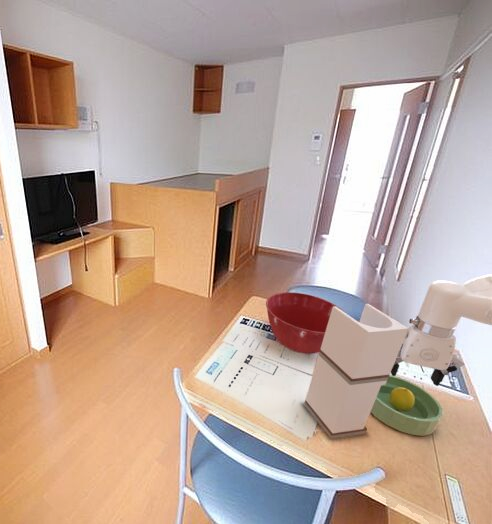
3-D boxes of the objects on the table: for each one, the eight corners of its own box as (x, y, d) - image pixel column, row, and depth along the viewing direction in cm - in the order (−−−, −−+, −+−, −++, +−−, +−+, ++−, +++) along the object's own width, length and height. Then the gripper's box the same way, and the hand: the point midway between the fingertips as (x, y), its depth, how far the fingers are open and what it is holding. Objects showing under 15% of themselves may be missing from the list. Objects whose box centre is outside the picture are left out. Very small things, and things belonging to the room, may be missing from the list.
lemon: (381, 401, 94) (389, 381, 91) (399, 402, 94) (408, 382, 91) (394, 416, 89) (404, 396, 86) (414, 417, 89) (424, 396, 86)
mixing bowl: (348, 375, 105) (360, 338, 99) (260, 357, 113) (267, 322, 108) (329, 330, 130) (339, 298, 124) (259, 318, 138) (265, 287, 132)
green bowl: (420, 398, 96) (427, 384, 94) (446, 446, 81) (455, 430, 79) (355, 381, 103) (360, 367, 100) (368, 423, 88) (374, 408, 85)
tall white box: (364, 433, 85) (408, 328, 71) (330, 438, 83) (368, 332, 70) (334, 400, 95) (368, 303, 81) (304, 404, 93) (332, 306, 80)
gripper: (398, 327, 80) (379, 377, 87) (485, 342, 74) (458, 396, 80) (389, 313, 87) (373, 361, 93) (469, 326, 80) (445, 377, 87)
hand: (412, 377), depth 87 cm, fingers open, 9 cm apart
